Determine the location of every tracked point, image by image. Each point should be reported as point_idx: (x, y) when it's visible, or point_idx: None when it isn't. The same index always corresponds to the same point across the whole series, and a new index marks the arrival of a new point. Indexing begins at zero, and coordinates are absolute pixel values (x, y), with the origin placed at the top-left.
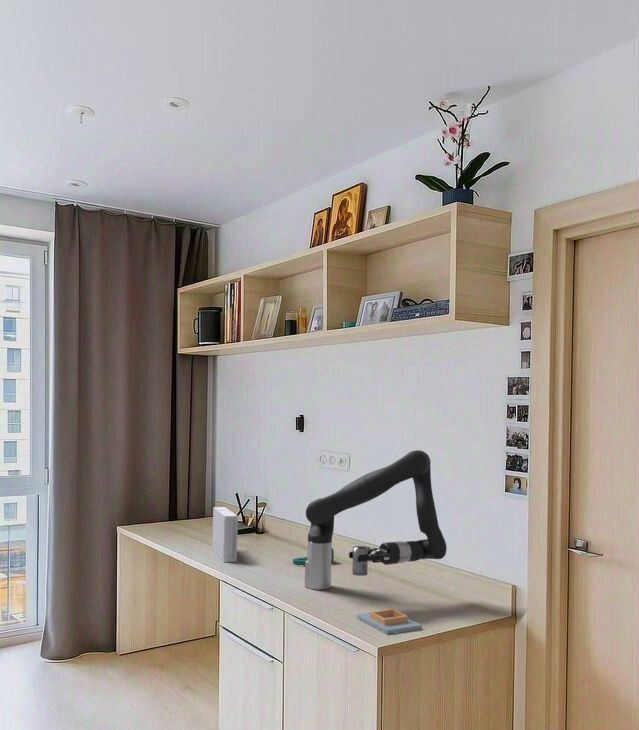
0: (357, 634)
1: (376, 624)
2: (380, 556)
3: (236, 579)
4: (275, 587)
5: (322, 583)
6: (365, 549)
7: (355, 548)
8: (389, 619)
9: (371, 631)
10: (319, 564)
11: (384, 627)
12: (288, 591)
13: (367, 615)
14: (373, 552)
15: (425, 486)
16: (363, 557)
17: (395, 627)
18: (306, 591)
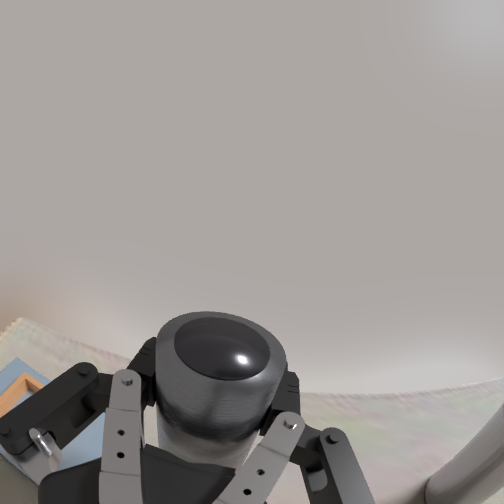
0: (68, 344)
1: (46, 379)
2: (44, 393)
3: (478, 382)
4: (445, 416)
5: (436, 488)
6: (157, 340)
7: (215, 312)
8: (16, 380)
9: (50, 367)
10: (475, 446)
11: (25, 369)
12: (419, 428)
13: (97, 428)
14: (119, 409)
15: None
16: (142, 349)
17: (5, 378)
18: (417, 461)
